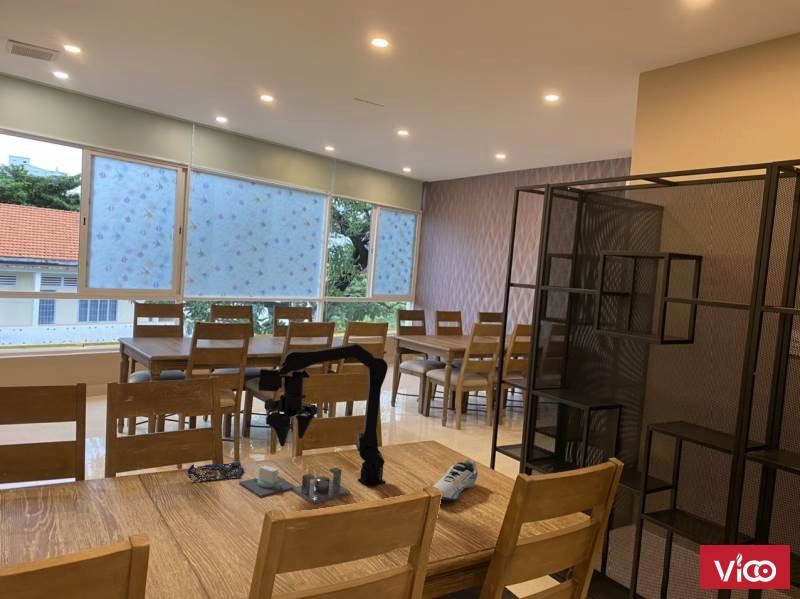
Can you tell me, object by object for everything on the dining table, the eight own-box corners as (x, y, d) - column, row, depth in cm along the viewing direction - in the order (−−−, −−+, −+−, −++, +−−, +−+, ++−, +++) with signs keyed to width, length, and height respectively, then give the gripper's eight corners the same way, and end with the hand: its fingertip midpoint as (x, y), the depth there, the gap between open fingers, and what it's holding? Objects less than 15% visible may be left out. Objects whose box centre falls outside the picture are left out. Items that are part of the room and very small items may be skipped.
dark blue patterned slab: (190, 485, 166) (190, 480, 166) (185, 469, 177) (186, 464, 177) (247, 479, 173) (247, 475, 173) (239, 464, 184) (239, 459, 184)
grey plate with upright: (327, 481, 175) (329, 462, 174) (349, 494, 167) (351, 474, 167) (291, 491, 166) (293, 471, 165) (313, 504, 158) (315, 483, 158)
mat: (274, 475, 176) (274, 473, 176) (295, 488, 168) (295, 486, 168) (239, 483, 168) (239, 481, 168) (259, 497, 160) (259, 495, 159)
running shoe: (420, 503, 165) (423, 472, 164) (455, 478, 187) (457, 451, 186) (448, 511, 160) (451, 480, 160) (480, 485, 182) (483, 458, 182)
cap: (286, 485, 168) (288, 469, 168) (273, 491, 163) (274, 475, 163) (262, 477, 173) (263, 462, 173) (248, 483, 168) (249, 467, 167)
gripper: (290, 382, 183) (288, 430, 184) (251, 393, 166) (250, 445, 167) (319, 387, 178) (317, 436, 179) (282, 398, 161) (280, 452, 162)
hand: (291, 442), depth 172 cm, fingers open, 9 cm apart
